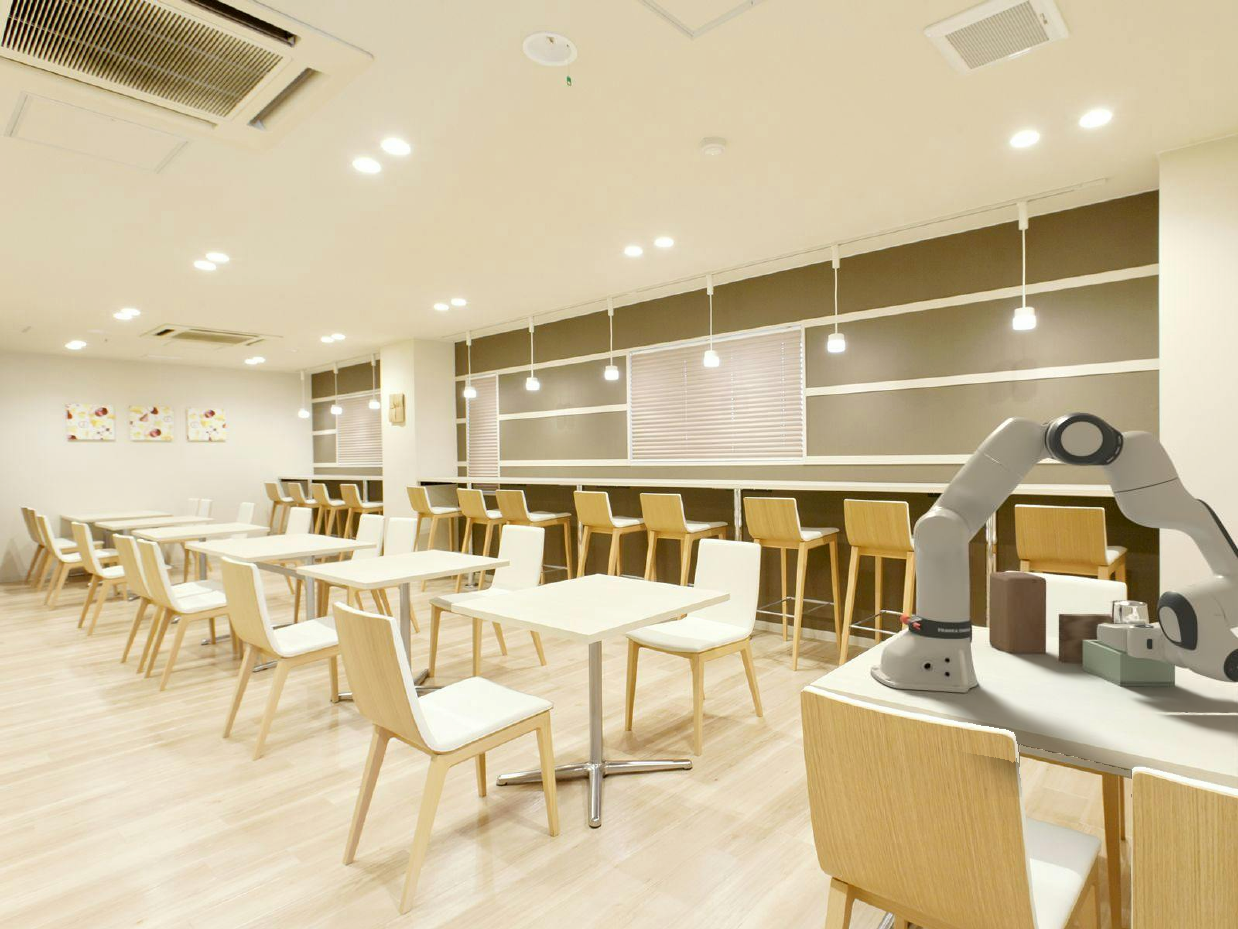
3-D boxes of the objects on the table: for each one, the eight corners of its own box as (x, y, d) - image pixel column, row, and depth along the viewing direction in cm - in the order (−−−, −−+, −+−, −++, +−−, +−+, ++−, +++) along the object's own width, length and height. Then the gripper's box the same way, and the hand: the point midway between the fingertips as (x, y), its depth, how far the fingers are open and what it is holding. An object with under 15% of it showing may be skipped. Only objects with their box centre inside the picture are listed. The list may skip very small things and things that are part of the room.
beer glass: (1157, 674, 149) (1154, 606, 149) (1121, 672, 151) (1119, 606, 151) (1140, 664, 156) (1138, 600, 156) (1106, 663, 157) (1104, 599, 157)
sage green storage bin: (1120, 686, 147) (1120, 654, 147) (1082, 669, 159) (1082, 639, 159) (1175, 686, 147) (1175, 654, 147) (1133, 669, 159) (1133, 640, 159)
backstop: (1118, 690, 146) (1119, 635, 146) (1058, 662, 166) (1058, 614, 166) (1183, 690, 146) (1183, 635, 146) (1115, 662, 166) (1115, 614, 166)
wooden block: (1047, 655, 172) (1048, 577, 172) (1008, 655, 172) (1008, 577, 172) (1024, 645, 182) (1025, 571, 182) (987, 645, 182) (987, 571, 182)
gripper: (1223, 627, 140) (1169, 613, 154) (1125, 627, 140) (1080, 612, 154) (1223, 658, 140) (1169, 640, 154) (1125, 657, 140) (1080, 640, 154)
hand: (1124, 626), depth 154 cm, fingers open, 7 cm apart
